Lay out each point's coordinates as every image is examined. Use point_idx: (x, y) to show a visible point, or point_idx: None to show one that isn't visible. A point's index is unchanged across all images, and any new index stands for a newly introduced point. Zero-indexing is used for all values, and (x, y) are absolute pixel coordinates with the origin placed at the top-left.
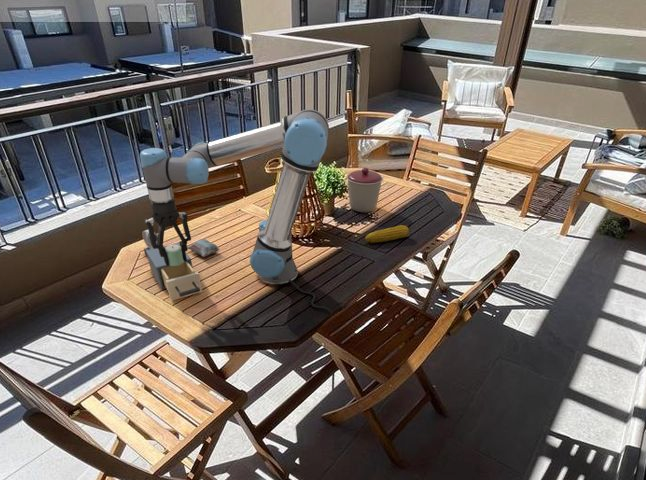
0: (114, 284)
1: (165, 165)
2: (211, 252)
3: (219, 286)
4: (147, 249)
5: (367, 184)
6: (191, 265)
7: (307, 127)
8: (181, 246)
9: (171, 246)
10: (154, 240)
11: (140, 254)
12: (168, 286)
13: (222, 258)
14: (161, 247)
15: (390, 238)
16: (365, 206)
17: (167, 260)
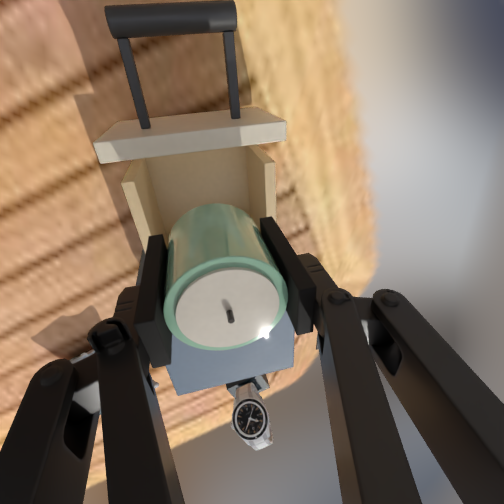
0: (364, 276)
1: None
2: (73, 358)
3: (34, 148)
4: (262, 384)
5: None
6: (142, 267)
7: None
8: (159, 313)
9: (235, 327)
10: (430, 357)
11: (273, 374)
12: (274, 116)
13: (37, 331)
14: (334, 297)
15: None
16: None
17: (271, 234)
